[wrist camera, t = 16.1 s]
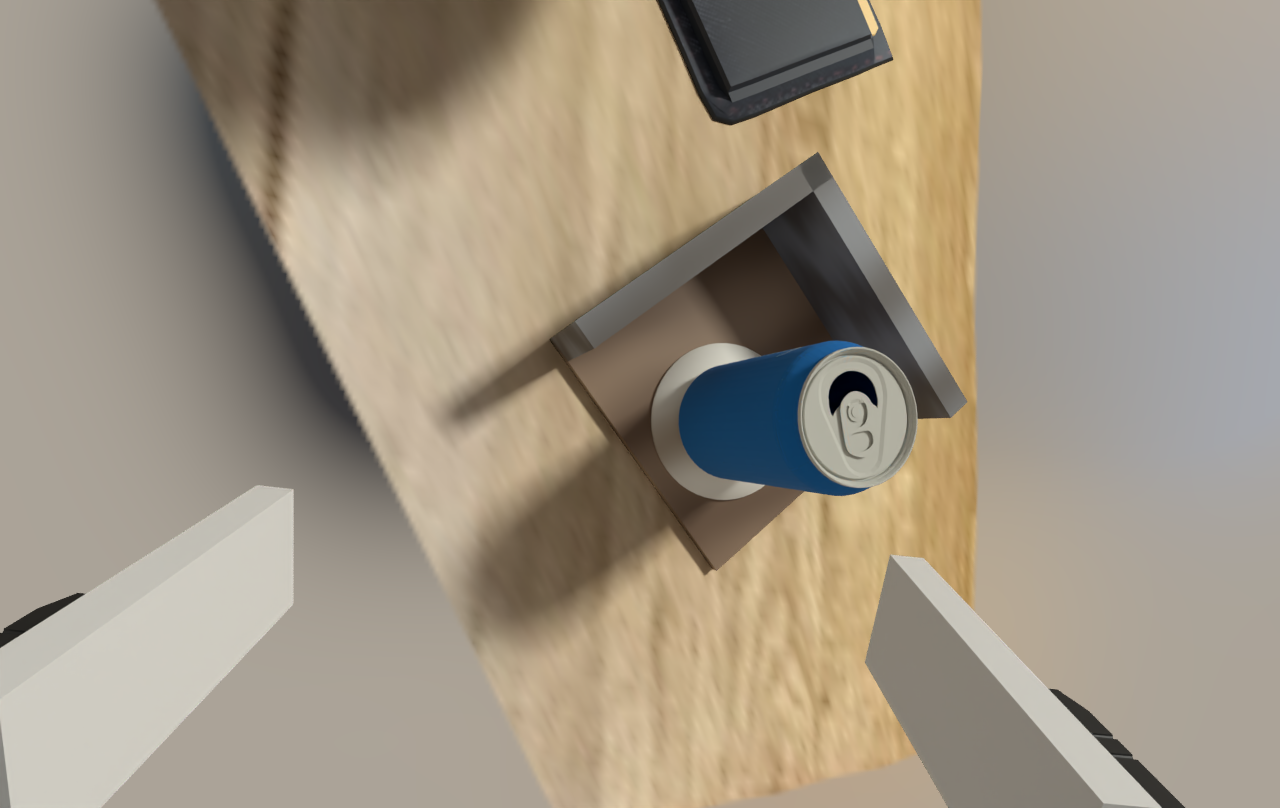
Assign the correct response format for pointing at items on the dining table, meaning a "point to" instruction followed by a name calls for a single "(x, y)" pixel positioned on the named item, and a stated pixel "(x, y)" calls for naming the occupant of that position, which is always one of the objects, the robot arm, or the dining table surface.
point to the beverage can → (802, 419)
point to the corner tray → (744, 337)
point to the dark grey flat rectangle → (772, 49)
